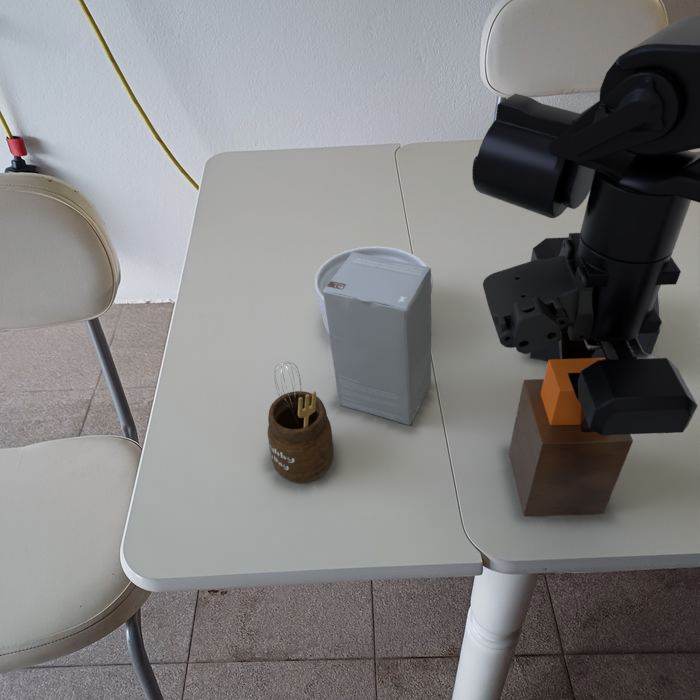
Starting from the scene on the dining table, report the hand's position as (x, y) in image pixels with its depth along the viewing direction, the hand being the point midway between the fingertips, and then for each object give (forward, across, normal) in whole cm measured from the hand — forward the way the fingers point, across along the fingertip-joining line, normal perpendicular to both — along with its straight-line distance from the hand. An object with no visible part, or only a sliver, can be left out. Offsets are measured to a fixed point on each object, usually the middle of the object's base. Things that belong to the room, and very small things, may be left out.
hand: (577, 403), depth 52 cm
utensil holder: (+11, -3, -23) cm, 26 cm away
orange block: (+1, 0, 0) cm, 1 cm away
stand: (+11, 0, 0) cm, 11 cm away
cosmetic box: (+11, -11, -15) cm, 22 cm away
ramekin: (+11, -23, -16) cm, 30 cm away
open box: (+11, -20, +9) cm, 24 cm away
